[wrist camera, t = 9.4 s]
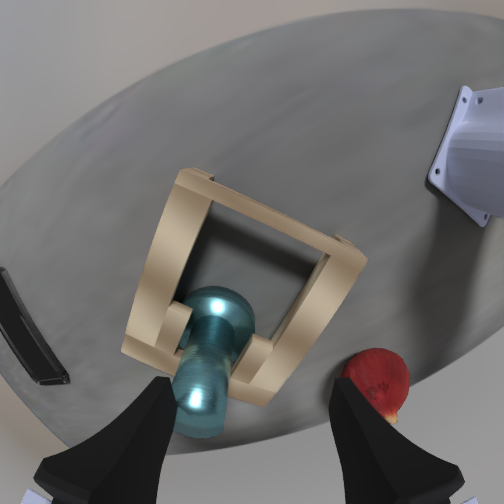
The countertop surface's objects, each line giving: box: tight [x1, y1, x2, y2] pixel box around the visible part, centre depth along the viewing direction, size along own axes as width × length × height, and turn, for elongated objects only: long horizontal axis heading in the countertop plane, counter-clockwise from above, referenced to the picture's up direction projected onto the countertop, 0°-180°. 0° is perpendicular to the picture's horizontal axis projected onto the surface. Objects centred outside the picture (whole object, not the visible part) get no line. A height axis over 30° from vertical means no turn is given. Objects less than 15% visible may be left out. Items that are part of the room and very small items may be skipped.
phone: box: [0, 267, 69, 385], centre depth 23 cm, size 8×1×15 cm
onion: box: [340, 348, 410, 424], centre depth 19 cm, size 6×6×8 cm
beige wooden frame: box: [121, 167, 368, 407], centre depth 19 cm, size 14×12×4 cm
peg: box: [172, 286, 255, 438], centre depth 17 cm, size 6×6×10 cm
